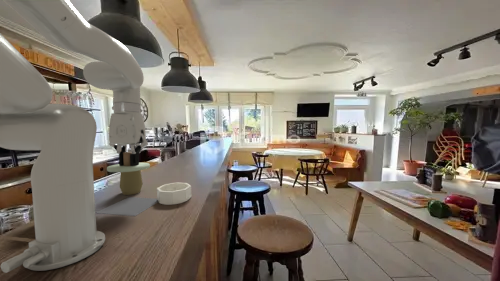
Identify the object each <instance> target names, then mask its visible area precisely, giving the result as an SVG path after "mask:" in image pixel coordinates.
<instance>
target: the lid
mask: <svg viewBox="0 0 500 281" xmlns="http://www.w3.org/2000/svg"><path fill="white" fill-rule="evenodd" d="M130 154H132V152H128V151H126V152H123V161H124V165H123V166H119V163H118V164H112V165H109V166H107V167H106V171H107V172H109V173H121V172H131V171H139V170H141V171H142V170H147V169H150V167H151V164H150V163H149V162H139V165H136V166H130Z"/></svg>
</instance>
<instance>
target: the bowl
mask: <svg viewBox="0 0 500 281" xmlns="http://www.w3.org/2000/svg"><path fill="white" fill-rule="evenodd" d="M190 198H192V185H191V184H189V183H188V182H171V183H165V184H163V185H160V186H159V187H158V186H157V187H156V199H157V200H158V203H159V204H160V205H161V204H162V205H165V206H166V205H170V206H171V205H172V206H173V205H177V204H178V205H179V204H182V203H185V202H187V201H189V200H190Z"/></svg>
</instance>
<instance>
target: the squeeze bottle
mask: <svg viewBox="0 0 500 281" xmlns="http://www.w3.org/2000/svg"><path fill="white" fill-rule="evenodd" d="M127 152H131V148H130V149H128V150H127ZM143 184H144V182H143V177H142V170H139V171H131V172H120V177H119V189H120V191H121V193H122V195H124V196H128V195H129V196H132V195H136V194H139V193H140V192H141V190H142V187H143Z"/></svg>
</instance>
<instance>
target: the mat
mask: <svg viewBox="0 0 500 281" xmlns="http://www.w3.org/2000/svg"><path fill="white" fill-rule="evenodd" d="M158 203H159V202H158V200H157V198H151V197H135V196H128V197H126V198H124V199H121V200H119V201H117V202H115V203H113V204H110V205H108V206H107V207H104V208H102V209H100V210H98V211H95V214H99V215H113V216H127V217H136V216H139V215H140V214H142V213H143V212H145V211H146V210H148V209H149V208H151V207H152V206H154V205H156V204H158Z"/></svg>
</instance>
